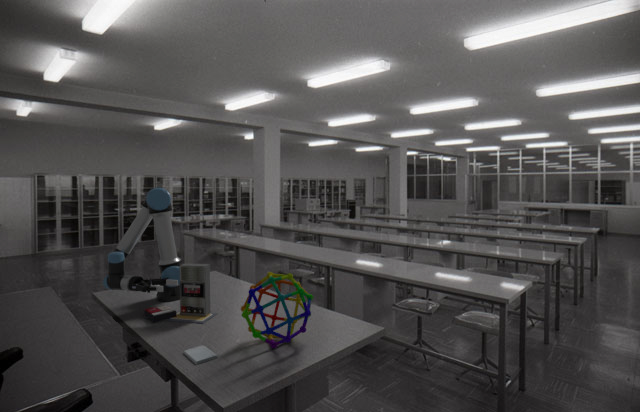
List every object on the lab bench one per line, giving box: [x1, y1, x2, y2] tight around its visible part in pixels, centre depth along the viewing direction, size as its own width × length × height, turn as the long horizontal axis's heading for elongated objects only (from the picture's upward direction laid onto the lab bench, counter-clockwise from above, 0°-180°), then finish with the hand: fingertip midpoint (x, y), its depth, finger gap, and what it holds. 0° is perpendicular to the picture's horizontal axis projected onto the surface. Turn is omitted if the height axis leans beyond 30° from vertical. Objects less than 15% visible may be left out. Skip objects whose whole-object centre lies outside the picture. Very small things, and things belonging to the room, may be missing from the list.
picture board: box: [165, 310, 218, 324], centre depth 183 cm, size 14×21×1 cm, turn 78°
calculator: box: [143, 304, 177, 324], centre depth 184 cm, size 11×4×15 cm
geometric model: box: [240, 271, 314, 349], centre depth 151 cm, size 30×30×30 cm
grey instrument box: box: [179, 263, 212, 316], centre depth 185 cm, size 14×6×25 cm, turn 81°
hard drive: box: [183, 344, 218, 365], centre depth 140 cm, size 2×8×12 cm
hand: (170, 285), depth 184 cm, fingers open, 11 cm apart
